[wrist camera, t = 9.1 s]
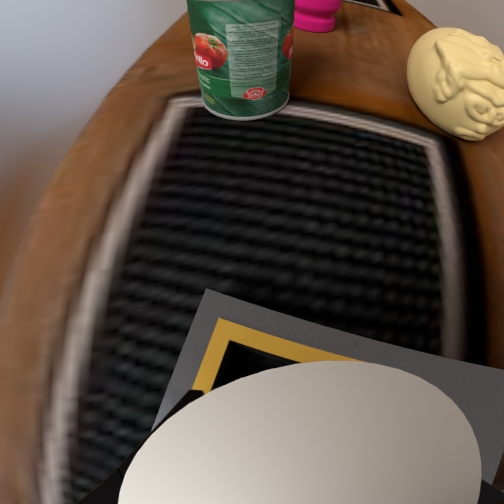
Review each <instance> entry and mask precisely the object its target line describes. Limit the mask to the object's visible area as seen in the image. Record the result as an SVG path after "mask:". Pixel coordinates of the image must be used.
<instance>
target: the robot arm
mask: <svg viewBox="0 0 504 504" xmlns="http://www.w3.org/2000/svg"><path fill="white" fill-rule="evenodd" d="M204 395H205V394H204V391H202V390H193V389H191V390H188V391H187V393H186V394H185V395H184V396H183V397H182V398H181V399H180V400H179V401H178V403H177V404H176V405H175V406H174V407H173V408H172V409H171V410H170V411H169V413H168V414H167V415H166V416H165V417H164V418H163V419H162V420H161V421H160V422H159V423H158V425H157V426H156V427H155V428H154V429H153V430H152V431H151V432H150V433H149V434H148V435H147V436H146V438H145V439H144V440H143V441H142V442H141V443H140V444H139V445H138V446H137V447H136V448H135V449H134V450H133V451H132V452H131V453H130V454H129V455H128V457H127V458H126V459H125V460H124V461H123V462H122V463H121V464H120V465H119V468H116V469H115V470H114V471H113V472H112V473H111V474H110V475H109V476H108V477H107V478H106V479H105V480H104V481H103V482H101V483H100V484H99V485H98V486H97V487H96V488H95V489H93V490H92V491H91V492H90V493H88V494H87V495H86V496H85V497H83V498H82V499H81V500H79V501H78V502H77V503H75V504H118V500H119V494H120V489H121V486H122V483H123V480H124V477H125V474H126V472H127V470H128V468H129V466H130V464H131V463H132V461H133V459H134V457H135V455H136V454H137V452H138V451H139V450H140V448H141V447H142V446H143V445H144V443H145V442H146V441H147V439H148V438H149V437H150V436H151V435H152V434H153V433H154V432H155V431H156V430H157V429H158V428H159V427H160V426H161V425H162V424H163V423H164V422H165V421H166V420H168V419H169V418H170V417H172V416H173V415H174V414H176V413H177V412H178V411H180V410H181V409H183V408H184V407H185V406H187V405H188V404H189V403H191V402H193V401H195V400H197V399H198V398H200V397H202V396H204ZM477 504H504V492H503V491H501V490H499V489H498V488H496V487H494V486H493V485H491V484H489V483H488V482H486V481H484V480H483V479H481V486H480V494H479V498H478V502H477Z"/></svg>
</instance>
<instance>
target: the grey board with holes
mask: <svg viewBox="0 0 504 504" xmlns="http://www.w3.org/2000/svg"><path fill="white" fill-rule="evenodd" d="M234 347H236V348H239V349H242V350H245V351H248V352H251V353H254V354H257V355H260V356H264V357H267V358H270V359H273V360H276V361H280V362H283V363H286V364H289V365H293V364H299V363H309V362H318V361H357V362H366V363H375V364H380V365H384V366H388V367H392V368H396V369H400V370H402V371H405V372H407V373H410V374H413V375H415V376H418V377H420V378H422V379H423V380H425V381H427V382H428V383H430V384H432V385H434V386H435V387H437V388H438V389H439V390H441V391H442V392H443V393H444V394H445V395H447V396H448V397H449V398H450V399H452V401H453V402H454V403H455V404H456V405H457V406H458V408H459V409H460V410H461V411H462V412H463V414H464V415H465V417H466V419H467V420H468V422H469V424H470V426H471V427H472V430H473V432H474V435H475V438H476V440H477V443H478V447H479V452H480V458H481V479H483V480H484V481H486V482H488V483H489V484H491V485H493V486H494V487H496V488H498V489H499V490H501V491H503V492H504V481H503V482H497V483H493V480H494V478H495V475H496V472H497V469H498V466H499V463H500V461H501V457H502V454H503V451H504V370H502V369H497V368H492V367H487V366H482V365H477V364H472V363H468V362H463V361H458V360H454V359H449V358H445V357H441V356H436V355H432V354H428V353H424V352H420V351H416V350H411V349H407V348H403V347H400V346H396V345H392V344H388V343H384V342H380V341H376V340H373V339H369V338H365V337H362V336H358V335H354V334H351V333H347V332H344V331H340V330H337V329H333V328H330V327H326V326H323V325H319V324H316V323H312V322H309V321H306V320H302V319H299V318H296V317H293V316H289V315H286V314H283V313H280V312H276V311H273V310H270V309H267V308H264V307H261V306H257V305H254V304H251V303H248V302H245V301H242V300H239V299H236V298H233V297H230V296H227V295H224V294H221V293H218V292H215V291H212V290H209V289H207V288H206V290H205V293H204V295H203V298H202V300H201V303H200V305H199V308H198V310H197V313H196V315H195V318H194V320H193V323H192V325H191V328H190V330H189V333H188V336H187V338H186V341H185V343H184V346H183V348H182V351H181V354H180V356H179V359H178V361H177V364H176V367H175V369H174V372H173V374H172V377H171V380H170V382H169V385H168V388H167V390H166V393H165V396H164V398H163V401H162V404H161V406H160V409H159V412H158V415H157V417H156V420H155V423H154V425H153V428H152V430H153V429H154V428H155V427H156V426H157V425H158V423H159V422H160V421H161V420H162V419H163V418H164V417H165V416H166V415H167V414H168V413H169V411H170V410H171V409H172V408H173V407H174V406H175V405H176V404H177V403H178V401H179V400H180V399H181V398H182V397H183V396H184V395H185V394H186V393H187V391H188V390H191V389H193V390H202V391H204V394H207V393H209V392H211V391H212V390H214V389H217V388H219V386H220V383H221V380H222V378H223V375H224V372H225V369H226V367H227V364H228V361H229V359H230V356H231V353H232V350H233V348H234Z"/></svg>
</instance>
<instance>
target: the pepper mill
mask: <svg viewBox="0 0 504 504" xmlns="http://www.w3.org/2000/svg"><path fill="white" fill-rule="evenodd" d="M340 8H341V0H295V11H294V15H295V18H294V27H296V28H298V29H301V30H305V31H310V32H318V33H321V32H330V31H332V30H333V29H334V25H335V17H334V16H333V14H334V13H336V12H337V11H338V10H339V9H340Z"/></svg>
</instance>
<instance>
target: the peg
mask: <svg viewBox="0 0 504 504" xmlns="http://www.w3.org/2000/svg"><path fill="white" fill-rule="evenodd" d="M480 486H481V458H480V452H479V447H478V443H477V440H476V438H475V435H474V432H473V430H472V427H471V426H470V424H469V422H468V420H467V419H466V417H465V415H464V414H463V412H462V411H461V410H460V409H459V408H458V406H457V405H456V404H455V403H454V402H453V401H452V399H450V398H449V397H448V396H447V395H445V394H444V393H443V392H442V391H441V390H439V389H438V388H437V387H435V386H434V385H432V384H430V383H428V382H427V381H425V380H423V379H422V378H420V377H418V376H415V375H413V374H410V373H407V372H405V371H402V370H400V369H396V368H392V367H388V366H384V365H380V364H375V363H366V362H357V361H318V362H309V363H299V364H293V365H288V366H283V367H279V368H274V369H269V370H265V371H262V372H259V373H256V374H253V375H250V376H246V377H243V378H240V379H238V380H235V381H233V382H231V383H228V384H226V385H224V386H221V387H219V388H217V389H214V390H212V391H211V392H209V393H207V394H205V395H204V396H202V397H200V398H198V399H197V400H195V401H193V402H191V403H189V404H188V405H187V406H185V407H184V408H183V409H181V410H180V411H178V412H177V413H176V414H174V415H173V416H172V417H170V418H169V419H168V420H166V421H165V422H164V423H163V424H162V425H161V426H160V427H159V428H158V429H157V430H156V431H155V432H154V433H153V434H152V435H151V436H150V437H149V438H148V439H147V441H146V442H145V443H144V445H143V446H142V447H141V448H140V450H139V451H138V452H137V454H136V455H135V457H134V459H133V461H132V463H131V464H130V466H129V468H128V470H127V472H126V474H125V477H124V480H123V483H122V486H121V489H120V494H119V500H118V504H477V502H478V498H479V494H480Z"/></svg>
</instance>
